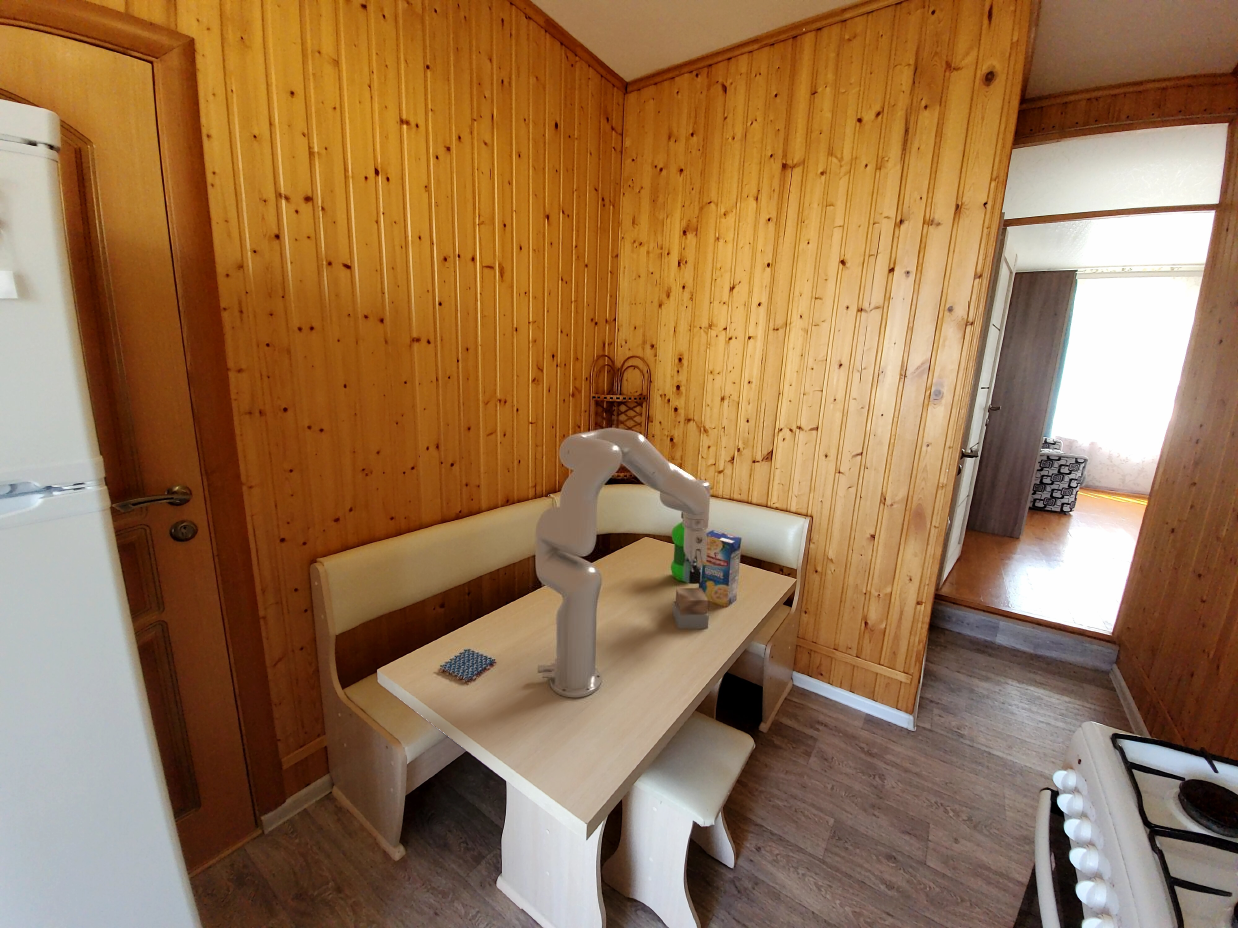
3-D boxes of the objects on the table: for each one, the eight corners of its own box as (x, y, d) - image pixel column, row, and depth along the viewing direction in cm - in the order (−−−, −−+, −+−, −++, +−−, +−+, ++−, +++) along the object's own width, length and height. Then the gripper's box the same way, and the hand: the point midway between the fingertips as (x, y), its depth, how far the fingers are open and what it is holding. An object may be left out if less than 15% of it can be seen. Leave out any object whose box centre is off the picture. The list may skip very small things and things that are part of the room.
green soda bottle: (664, 573, 185) (668, 509, 180) (690, 571, 188) (694, 508, 183) (675, 585, 175) (679, 518, 170) (702, 582, 178) (707, 516, 173)
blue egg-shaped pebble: (685, 584, 146) (686, 568, 145) (681, 576, 152) (682, 560, 151) (703, 583, 147) (704, 567, 146) (698, 575, 152) (699, 560, 151)
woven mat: (469, 687, 118) (468, 680, 118) (437, 673, 123) (437, 666, 123) (498, 665, 127) (498, 658, 127) (468, 652, 132) (468, 646, 132)
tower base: (678, 629, 147) (679, 615, 146) (672, 614, 156) (673, 600, 155) (707, 628, 148) (708, 615, 147) (700, 613, 156) (701, 600, 156)
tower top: (680, 614, 147) (681, 600, 146) (675, 601, 155) (676, 588, 154) (707, 613, 147) (708, 600, 147) (700, 601, 155) (701, 587, 154)
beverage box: (726, 607, 161) (732, 543, 156) (697, 596, 168) (701, 534, 163) (736, 600, 166) (741, 537, 161) (708, 589, 173) (712, 530, 168)
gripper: (716, 531, 137) (712, 591, 141) (700, 512, 154) (697, 567, 158) (689, 531, 137) (686, 592, 140) (676, 512, 153) (674, 567, 157)
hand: (692, 578), depth 149 cm, fingers closed on blue egg-shaped pebble, 5 cm apart
